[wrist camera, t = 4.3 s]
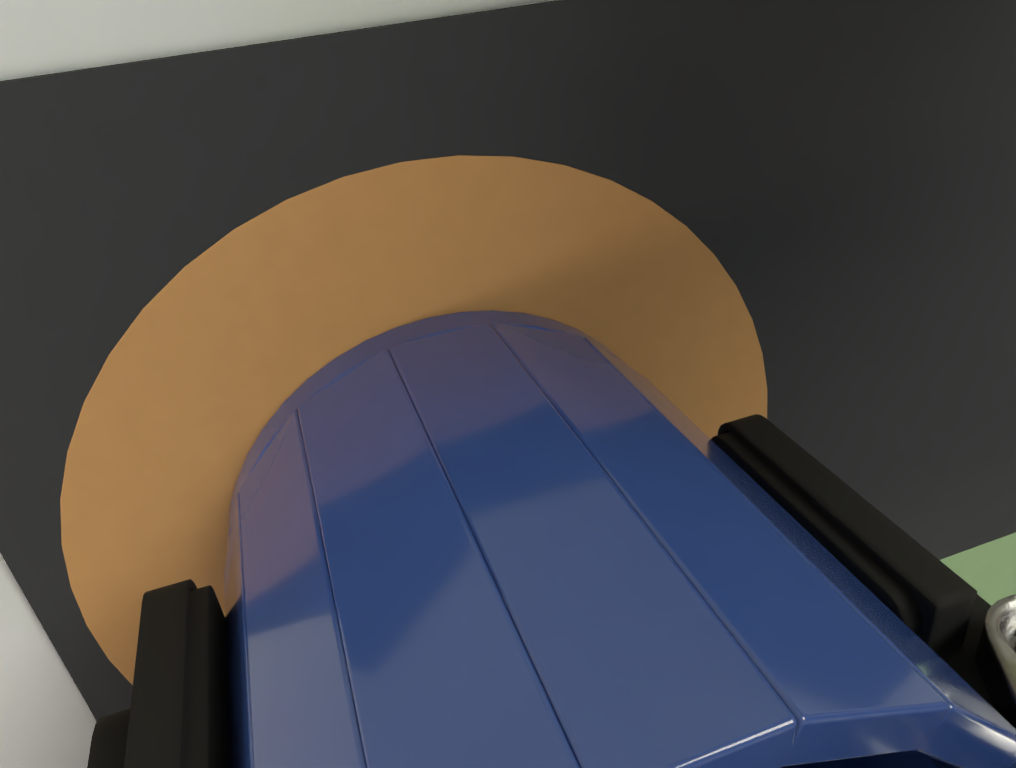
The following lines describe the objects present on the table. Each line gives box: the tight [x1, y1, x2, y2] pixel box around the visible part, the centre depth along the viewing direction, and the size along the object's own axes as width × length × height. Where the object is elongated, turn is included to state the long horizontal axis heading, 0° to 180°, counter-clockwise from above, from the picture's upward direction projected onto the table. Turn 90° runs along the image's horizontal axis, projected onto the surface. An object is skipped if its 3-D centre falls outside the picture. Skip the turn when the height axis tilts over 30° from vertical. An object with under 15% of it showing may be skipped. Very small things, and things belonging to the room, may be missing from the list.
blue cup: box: [224, 310, 1016, 768], centre depth 9 cm, size 7×7×7 cm
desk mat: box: [0, 0, 1016, 722], centre depth 15 cm, size 22×22×1 cm
